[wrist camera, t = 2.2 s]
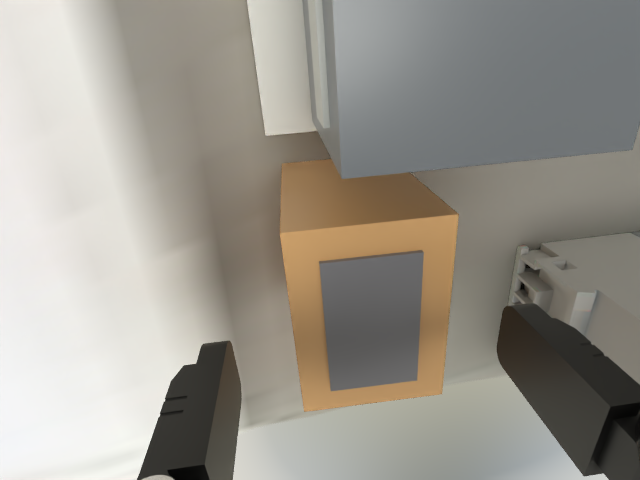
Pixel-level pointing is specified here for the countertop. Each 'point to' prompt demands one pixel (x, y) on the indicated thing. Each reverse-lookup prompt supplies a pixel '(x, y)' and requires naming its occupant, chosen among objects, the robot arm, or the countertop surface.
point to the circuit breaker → (588, 290)
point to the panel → (281, 65)
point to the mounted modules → (471, 81)
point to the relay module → (366, 283)
